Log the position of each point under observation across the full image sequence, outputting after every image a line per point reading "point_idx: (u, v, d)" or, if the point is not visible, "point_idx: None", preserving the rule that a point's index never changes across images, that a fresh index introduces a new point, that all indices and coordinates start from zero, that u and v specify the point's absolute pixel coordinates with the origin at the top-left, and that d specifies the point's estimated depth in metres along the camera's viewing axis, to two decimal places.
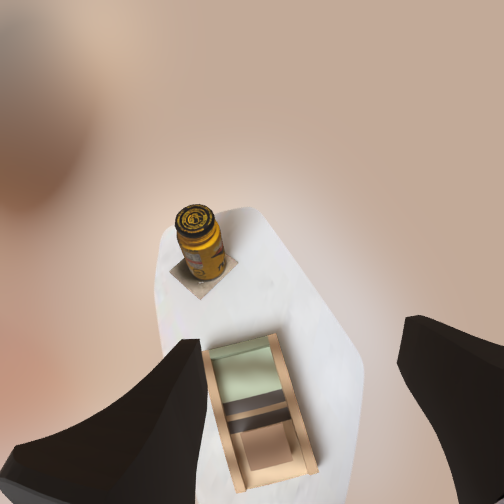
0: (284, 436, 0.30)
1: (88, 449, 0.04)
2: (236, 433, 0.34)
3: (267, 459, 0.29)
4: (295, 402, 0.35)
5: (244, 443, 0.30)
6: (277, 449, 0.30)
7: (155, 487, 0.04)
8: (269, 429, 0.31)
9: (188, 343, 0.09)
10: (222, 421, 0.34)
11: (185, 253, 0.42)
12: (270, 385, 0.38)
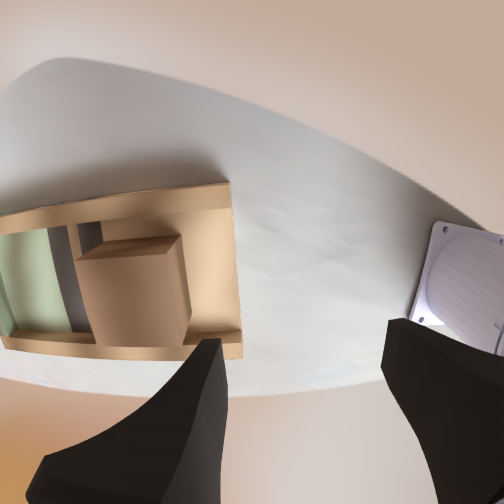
0: (103, 262, 0.14)
1: (125, 456, 0.04)
2: None
3: (153, 310, 0.14)
4: (59, 209, 0.15)
5: (117, 343, 0.15)
6: (132, 283, 0.14)
7: (194, 490, 0.04)
8: (87, 290, 0.14)
9: (211, 342, 0.09)
10: (94, 349, 0.18)
11: None
12: (41, 245, 0.17)
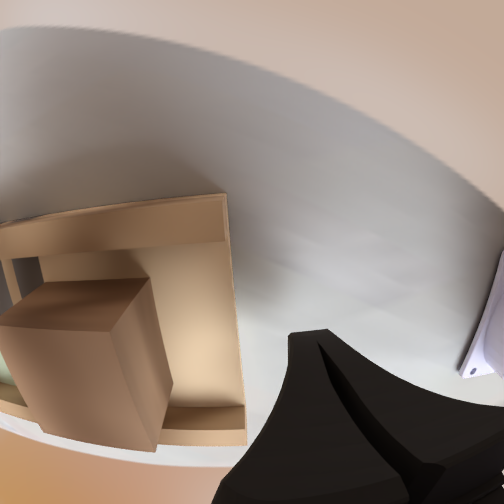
0: (23, 332, 0.07)
1: (312, 454, 0.04)
2: None
3: (105, 407, 0.08)
4: None
5: (66, 435, 0.08)
6: (68, 368, 0.07)
7: None
8: (12, 366, 0.07)
9: (304, 335, 0.09)
10: None
11: None
12: None
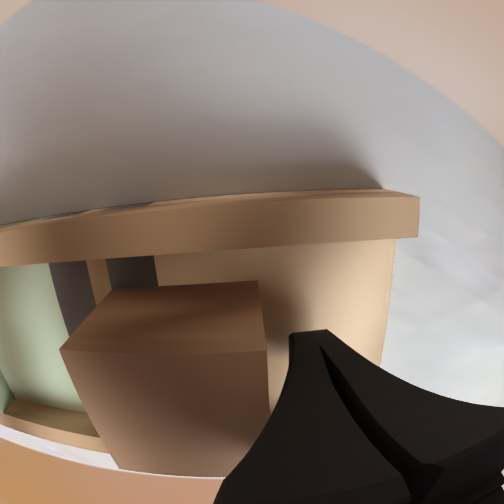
0: (120, 359, 0.06)
1: (314, 453, 0.04)
2: None
3: (228, 436, 0.07)
4: (72, 228, 0.08)
5: (154, 471, 0.07)
6: (186, 399, 0.07)
7: None
8: (90, 399, 0.07)
9: (305, 335, 0.09)
10: None
11: None
12: (38, 286, 0.10)
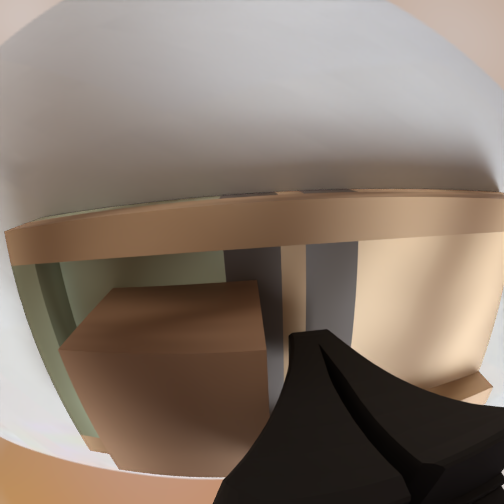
0: (119, 359, 0.06)
1: (314, 453, 0.04)
2: None
3: (228, 436, 0.07)
4: (309, 208, 0.08)
5: (154, 471, 0.07)
6: (186, 399, 0.06)
7: None
8: (89, 400, 0.07)
9: (305, 335, 0.09)
10: None
11: None
12: (200, 279, 0.10)
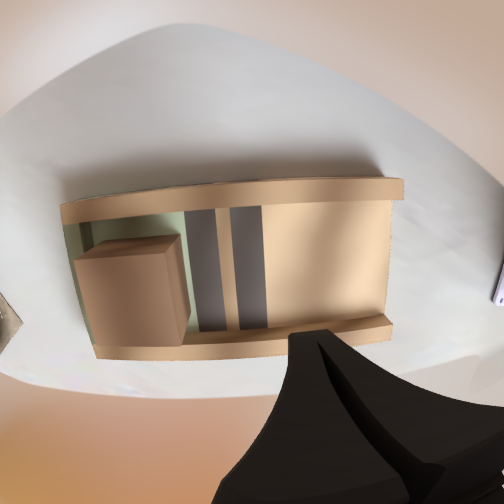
0: (102, 261, 0.14)
1: (313, 454, 0.04)
2: (267, 317, 0.19)
3: (152, 309, 0.14)
4: (223, 189, 0.15)
5: (116, 343, 0.15)
6: (131, 282, 0.14)
7: None
8: (85, 289, 0.14)
9: (304, 335, 0.09)
10: (238, 348, 0.18)
11: None
12: (171, 231, 0.17)
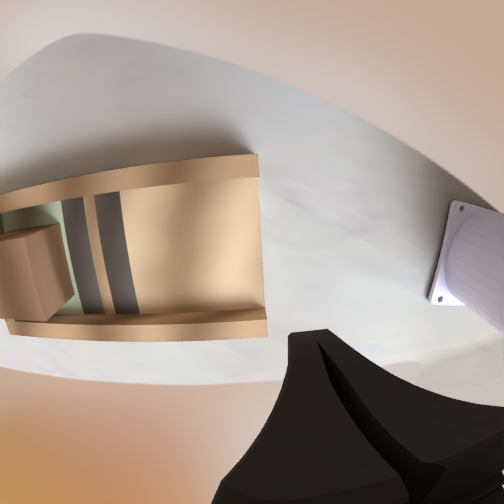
0: None
1: (313, 454, 0.04)
2: (138, 303, 0.19)
3: (23, 286, 0.14)
4: (78, 180, 0.15)
5: (6, 316, 0.14)
6: (8, 263, 0.14)
7: None
8: None
9: (304, 335, 0.09)
10: (108, 330, 0.18)
11: None
12: (53, 221, 0.17)
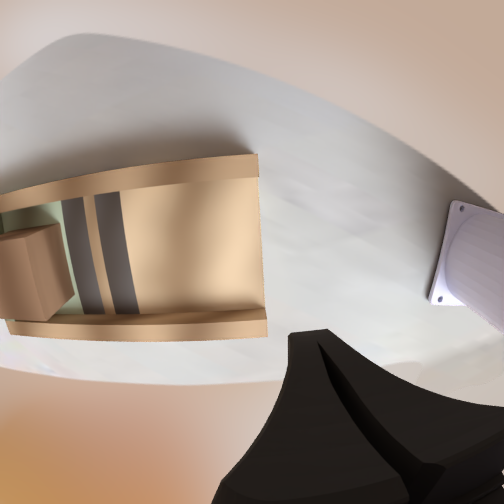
0: None
1: (313, 454, 0.04)
2: (138, 303, 0.19)
3: (23, 286, 0.14)
4: (78, 180, 0.15)
5: (6, 316, 0.14)
6: (8, 263, 0.14)
7: None
8: None
9: (304, 335, 0.09)
10: (108, 330, 0.18)
11: None
12: (53, 221, 0.17)
